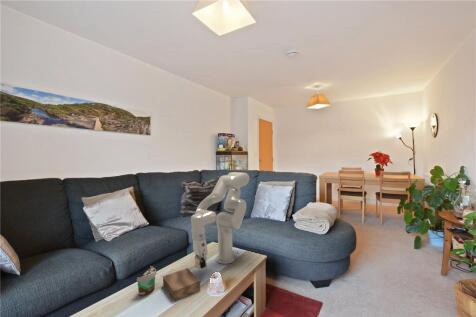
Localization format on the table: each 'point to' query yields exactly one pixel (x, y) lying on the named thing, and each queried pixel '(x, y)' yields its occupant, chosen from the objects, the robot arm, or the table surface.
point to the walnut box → (181, 284)
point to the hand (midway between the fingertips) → (200, 265)
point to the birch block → (198, 262)
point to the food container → (147, 282)
